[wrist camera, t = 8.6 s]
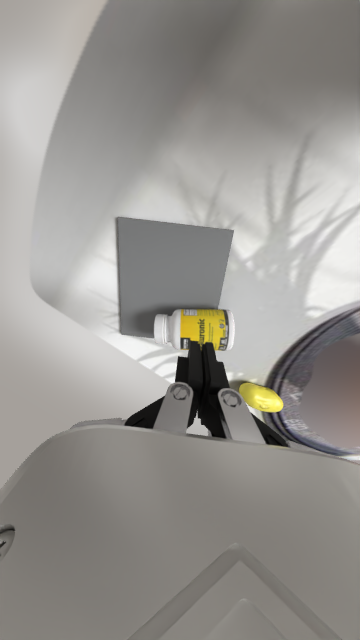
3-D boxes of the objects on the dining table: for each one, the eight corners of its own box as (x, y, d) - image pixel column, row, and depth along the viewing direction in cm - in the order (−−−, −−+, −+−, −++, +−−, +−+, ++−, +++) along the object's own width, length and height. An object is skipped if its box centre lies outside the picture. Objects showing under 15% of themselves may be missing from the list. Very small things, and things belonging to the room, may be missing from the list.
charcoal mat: (232, 230, 21) (233, 230, 20) (209, 343, 27) (210, 344, 26) (119, 217, 21) (117, 216, 20) (122, 333, 27) (121, 334, 26)
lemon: (245, 372, 29) (253, 390, 26) (282, 390, 30) (295, 409, 27) (231, 388, 31) (237, 407, 27) (267, 405, 32) (277, 425, 28)
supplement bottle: (232, 359, 21) (154, 357, 21) (224, 338, 26) (160, 337, 26) (237, 317, 19) (150, 316, 19) (227, 304, 24) (159, 304, 24)
